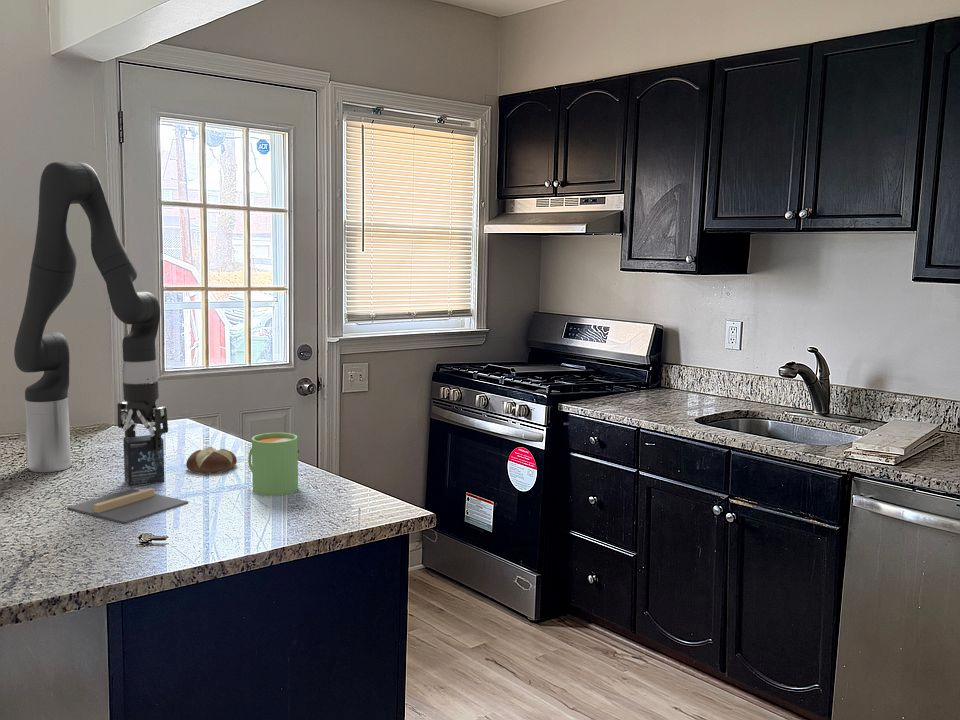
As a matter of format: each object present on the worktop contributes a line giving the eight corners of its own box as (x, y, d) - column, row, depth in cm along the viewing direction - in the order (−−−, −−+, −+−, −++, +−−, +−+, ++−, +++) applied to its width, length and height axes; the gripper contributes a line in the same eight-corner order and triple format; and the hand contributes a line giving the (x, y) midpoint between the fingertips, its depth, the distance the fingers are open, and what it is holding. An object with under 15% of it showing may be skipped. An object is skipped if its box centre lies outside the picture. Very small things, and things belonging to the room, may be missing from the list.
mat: (67, 508, 180) (66, 500, 180) (131, 490, 194) (131, 482, 194) (125, 523, 171) (124, 514, 171) (188, 503, 185) (187, 494, 185)
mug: (308, 486, 199) (307, 435, 198) (279, 498, 190) (278, 444, 188) (264, 479, 205) (263, 429, 203) (234, 490, 195) (233, 438, 194)
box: (129, 487, 196) (127, 442, 195) (124, 481, 201) (122, 437, 199) (165, 482, 200) (163, 438, 199) (159, 477, 205) (157, 433, 204)
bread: (178, 471, 211) (178, 451, 210) (210, 461, 221) (209, 442, 220) (215, 477, 206) (215, 456, 206) (246, 466, 217) (245, 446, 216)
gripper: (105, 379, 197) (109, 448, 200) (148, 384, 190) (151, 456, 193) (133, 375, 204) (136, 442, 206) (175, 380, 197) (177, 449, 199)
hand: (143, 449), depth 199 cm, fingers open, 8 cm apart
